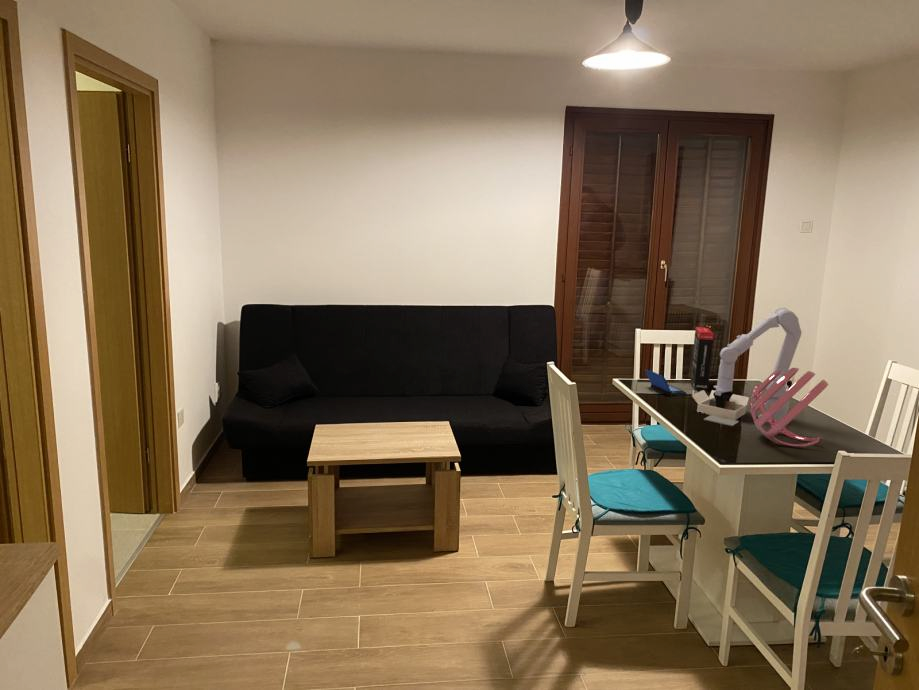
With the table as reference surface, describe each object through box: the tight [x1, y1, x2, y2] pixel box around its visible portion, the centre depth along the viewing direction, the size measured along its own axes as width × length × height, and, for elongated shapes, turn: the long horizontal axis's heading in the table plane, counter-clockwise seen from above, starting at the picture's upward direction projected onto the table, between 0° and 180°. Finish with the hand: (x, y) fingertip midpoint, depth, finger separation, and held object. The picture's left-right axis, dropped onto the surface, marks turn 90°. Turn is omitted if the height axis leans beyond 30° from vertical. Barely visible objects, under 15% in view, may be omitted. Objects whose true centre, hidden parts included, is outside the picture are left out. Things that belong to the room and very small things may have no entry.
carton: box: [691, 389, 756, 421], centre depth 279 cm, size 21×16×6 cm
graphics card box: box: [689, 326, 715, 392], centre depth 319 cm, size 17×7×27 cm, turn 168°
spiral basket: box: [749, 367, 829, 448], centre depth 242 cm, size 28×28×27 cm
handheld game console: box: [644, 368, 687, 397], centre depth 308 cm, size 16×13×9 cm
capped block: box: [709, 398, 736, 411], centre depth 278 cm, size 9×4×5 cm, turn 51°
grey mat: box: [703, 415, 740, 427], centre depth 266 cm, size 11×8×1 cm
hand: (721, 409), depth 278 cm, fingers closed on capped block, 4 cm apart
